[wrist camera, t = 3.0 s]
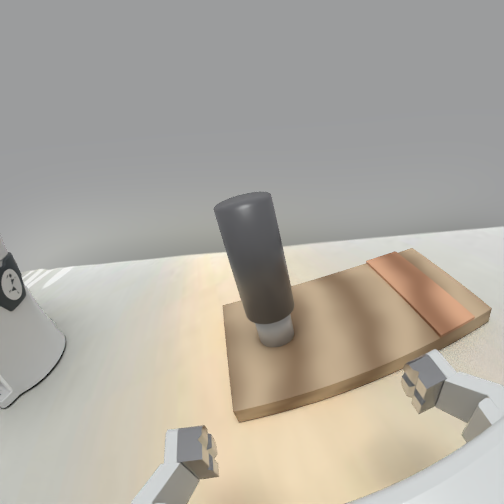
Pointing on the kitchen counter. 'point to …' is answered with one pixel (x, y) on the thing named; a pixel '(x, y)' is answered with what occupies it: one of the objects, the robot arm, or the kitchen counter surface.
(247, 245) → the round-topped grey cylinder
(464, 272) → the kitchen counter surface
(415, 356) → the board
